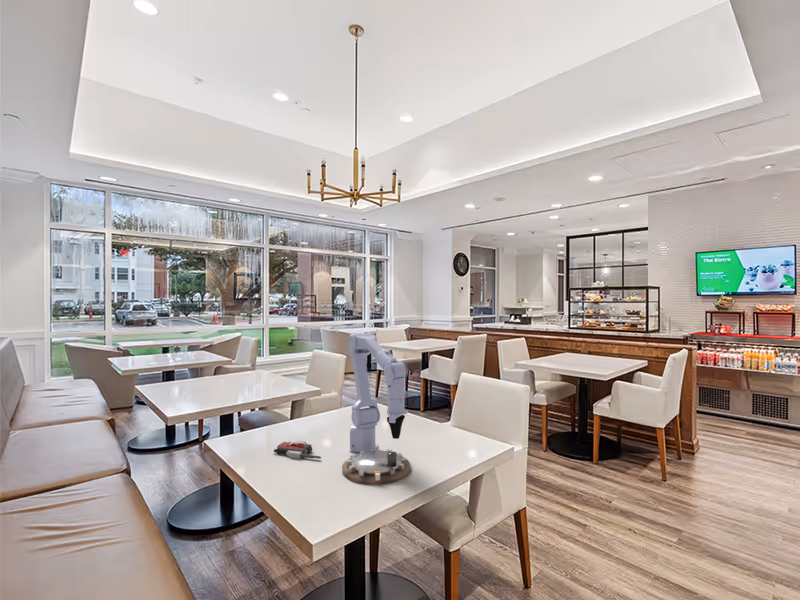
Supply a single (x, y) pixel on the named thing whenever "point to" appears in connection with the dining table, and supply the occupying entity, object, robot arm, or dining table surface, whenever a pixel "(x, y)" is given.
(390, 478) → the sprocket base
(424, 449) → the dining table surface
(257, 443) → the dining table surface
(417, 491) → the dining table surface
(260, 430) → the dining table surface
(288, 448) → the walkie-talkie
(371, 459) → the sprocket
